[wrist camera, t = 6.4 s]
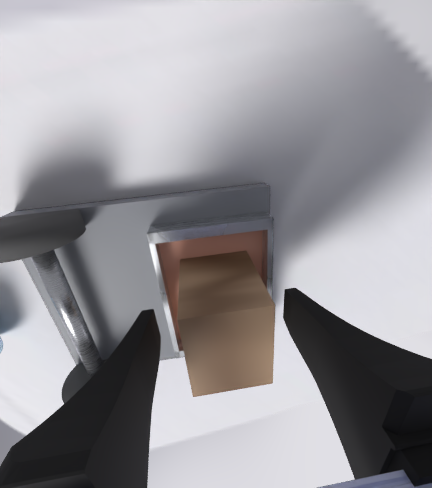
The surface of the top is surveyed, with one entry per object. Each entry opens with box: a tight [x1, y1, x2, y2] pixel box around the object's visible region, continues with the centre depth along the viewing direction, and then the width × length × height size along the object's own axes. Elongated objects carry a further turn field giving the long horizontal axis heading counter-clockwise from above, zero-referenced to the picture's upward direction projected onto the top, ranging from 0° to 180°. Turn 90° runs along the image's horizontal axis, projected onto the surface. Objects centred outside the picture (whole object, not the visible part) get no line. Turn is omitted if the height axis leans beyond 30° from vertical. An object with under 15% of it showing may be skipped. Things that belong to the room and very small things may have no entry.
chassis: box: [0, 183, 273, 404], centre depth 14 cm, size 14×12×4 cm
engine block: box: [177, 251, 275, 397], centre depth 13 cm, size 4×5×5 cm
